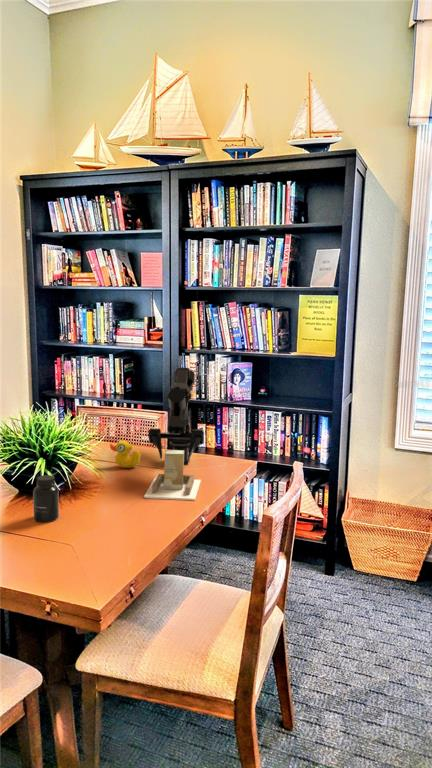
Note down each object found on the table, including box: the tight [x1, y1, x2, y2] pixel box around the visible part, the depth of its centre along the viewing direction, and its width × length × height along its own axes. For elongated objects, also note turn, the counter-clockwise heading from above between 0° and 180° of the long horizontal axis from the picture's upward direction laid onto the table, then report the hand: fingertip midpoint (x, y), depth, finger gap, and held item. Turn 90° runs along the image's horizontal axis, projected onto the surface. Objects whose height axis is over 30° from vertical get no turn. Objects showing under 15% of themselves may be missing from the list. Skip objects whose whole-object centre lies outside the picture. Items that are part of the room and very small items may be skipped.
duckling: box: [109, 440, 142, 469], centre depth 203 cm, size 11×5×10 cm, turn 86°
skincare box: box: [163, 449, 185, 490], centre depth 181 cm, size 6×4×12 cm
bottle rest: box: [143, 473, 202, 501], centre depth 182 cm, size 18×16×3 cm
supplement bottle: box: [32, 474, 60, 524], centre depth 156 cm, size 7×7×12 cm
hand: (174, 458), depth 184 cm, fingers open, 9 cm apart
